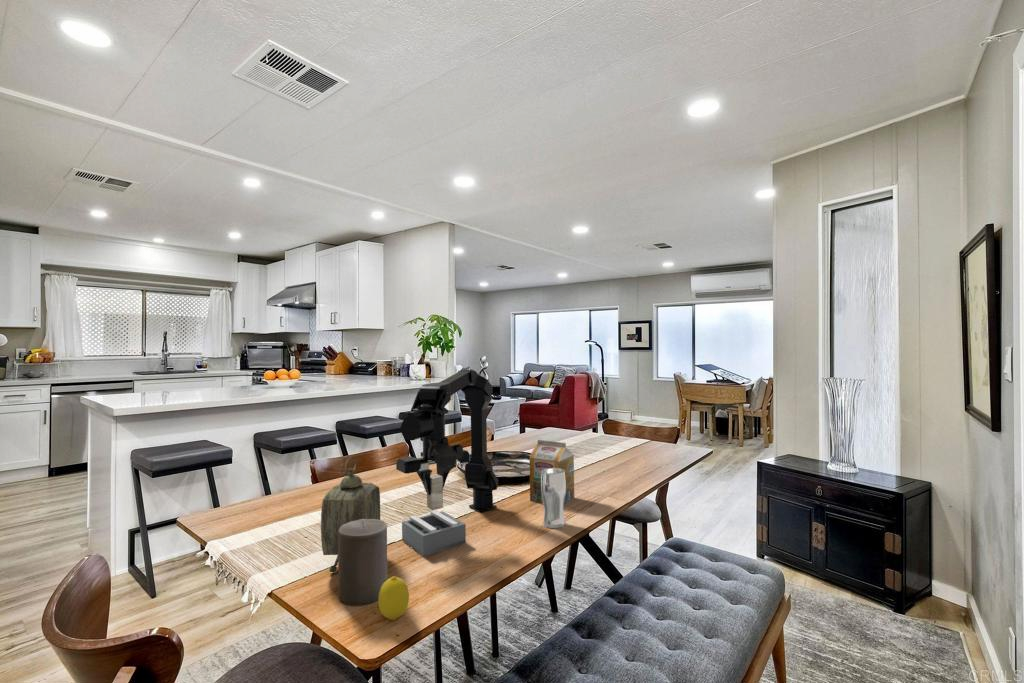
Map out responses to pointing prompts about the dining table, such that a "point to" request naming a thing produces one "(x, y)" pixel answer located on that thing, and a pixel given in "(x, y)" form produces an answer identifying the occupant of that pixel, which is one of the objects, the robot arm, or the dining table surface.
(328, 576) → the dining table surface
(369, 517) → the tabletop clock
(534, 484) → the milk carton
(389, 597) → the lemon
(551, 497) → the beer glass
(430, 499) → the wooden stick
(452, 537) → the grey divided tray
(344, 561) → the pillar candle
